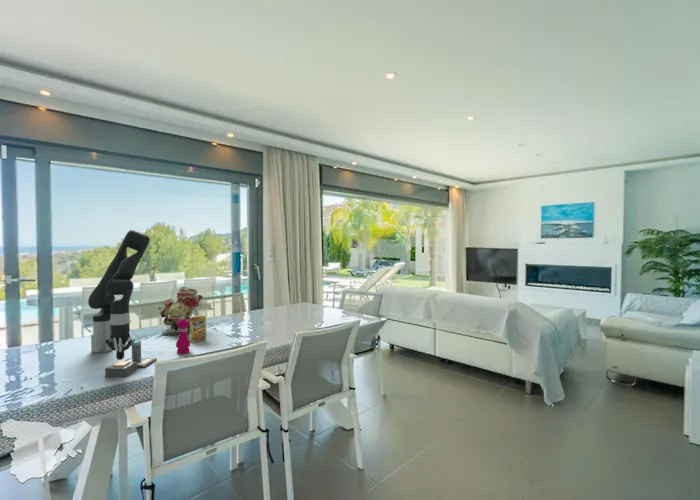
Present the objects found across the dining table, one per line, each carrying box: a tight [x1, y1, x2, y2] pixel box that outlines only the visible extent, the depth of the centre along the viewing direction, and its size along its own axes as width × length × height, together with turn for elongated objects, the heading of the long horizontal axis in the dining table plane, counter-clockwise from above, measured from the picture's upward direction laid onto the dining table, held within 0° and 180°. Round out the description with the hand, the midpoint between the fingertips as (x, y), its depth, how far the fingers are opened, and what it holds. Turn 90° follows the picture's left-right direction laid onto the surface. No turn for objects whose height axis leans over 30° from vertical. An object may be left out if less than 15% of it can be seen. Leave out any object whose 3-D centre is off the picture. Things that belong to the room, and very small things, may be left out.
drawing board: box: [124, 357, 157, 369], centre depth 176 cm, size 14×11×1 cm
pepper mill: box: [175, 317, 191, 355], centre depth 194 cm, size 7×7×20 cm
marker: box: [130, 340, 142, 363], centre depth 176 cm, size 4×4×10 cm
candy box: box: [189, 314, 207, 343], centre depth 216 cm, size 9×4×15 cm, turn 125°
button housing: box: [104, 360, 138, 378], centre depth 164 cm, size 9×9×4 cm
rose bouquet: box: [158, 286, 204, 337], centre depth 236 cm, size 26×29×30 cm
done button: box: [111, 360, 130, 367], centre depth 164 cm, size 5×5×4 cm
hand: (120, 359), depth 163 cm, fingers closed
